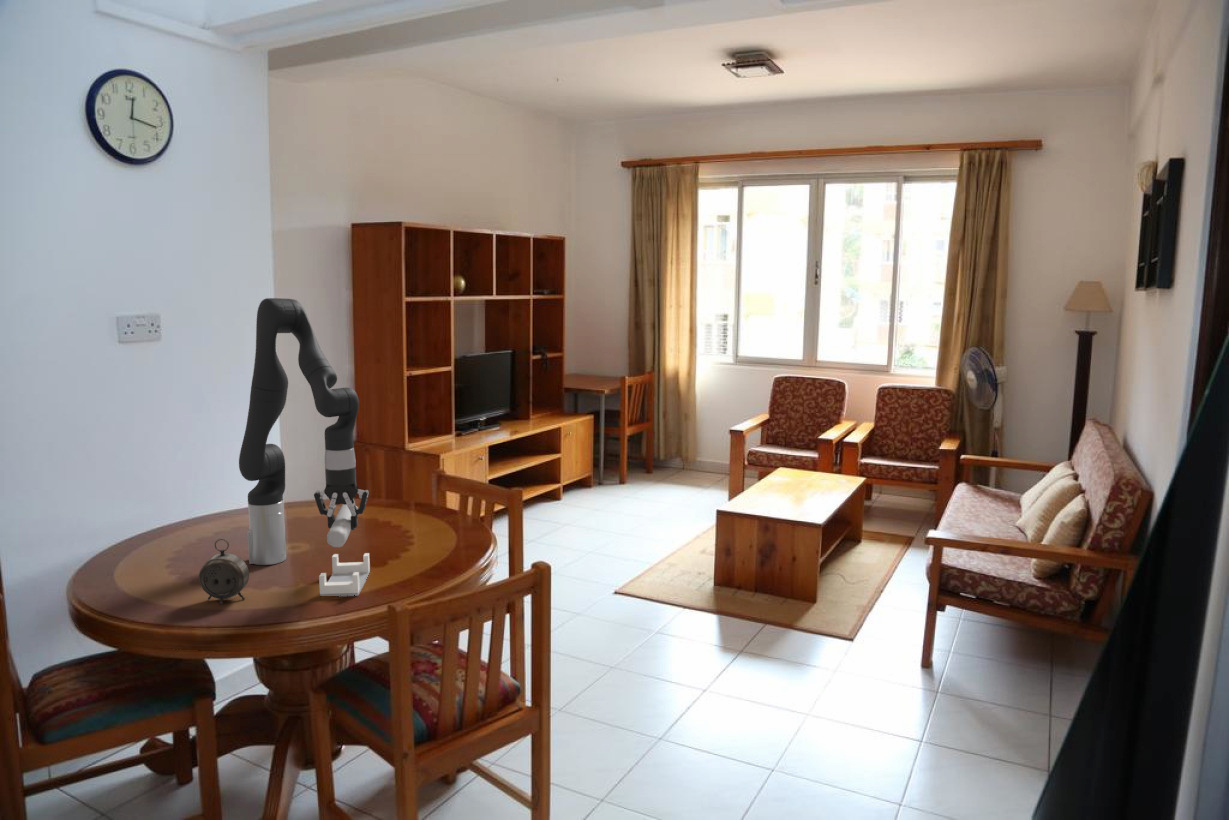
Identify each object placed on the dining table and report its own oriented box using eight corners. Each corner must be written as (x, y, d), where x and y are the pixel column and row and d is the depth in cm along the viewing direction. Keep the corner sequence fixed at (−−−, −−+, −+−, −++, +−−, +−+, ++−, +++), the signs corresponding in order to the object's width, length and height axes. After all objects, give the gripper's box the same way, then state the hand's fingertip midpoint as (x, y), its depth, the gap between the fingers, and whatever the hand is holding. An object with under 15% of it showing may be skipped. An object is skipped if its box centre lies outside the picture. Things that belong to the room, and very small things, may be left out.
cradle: (320, 597, 220) (319, 576, 219) (334, 573, 237) (333, 554, 236) (358, 595, 220) (357, 575, 220) (370, 572, 238) (369, 553, 237)
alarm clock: (251, 597, 219) (247, 535, 217) (243, 605, 214) (239, 541, 211) (207, 597, 219) (203, 535, 216) (198, 605, 214) (193, 542, 211)
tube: (349, 533, 214) (360, 505, 239) (327, 527, 213) (341, 500, 238) (343, 553, 215) (355, 523, 239) (321, 547, 214) (336, 518, 238)
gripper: (308, 469, 219) (311, 534, 222) (366, 468, 221) (368, 533, 223) (315, 462, 226) (318, 526, 229) (371, 461, 228) (373, 524, 231)
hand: (343, 529), depth 226 cm, fingers closed on tube, 4 cm apart
